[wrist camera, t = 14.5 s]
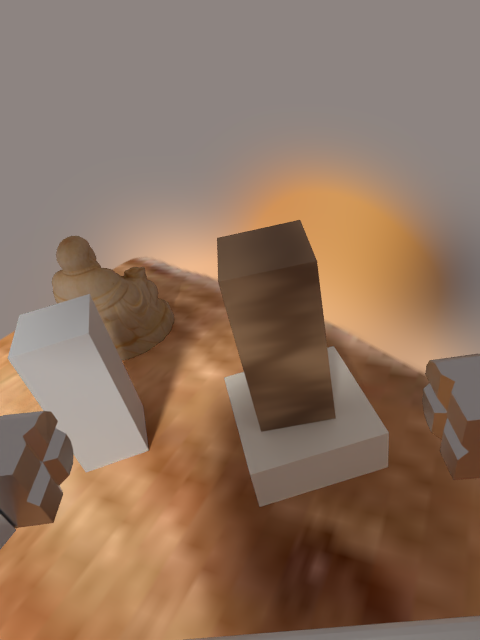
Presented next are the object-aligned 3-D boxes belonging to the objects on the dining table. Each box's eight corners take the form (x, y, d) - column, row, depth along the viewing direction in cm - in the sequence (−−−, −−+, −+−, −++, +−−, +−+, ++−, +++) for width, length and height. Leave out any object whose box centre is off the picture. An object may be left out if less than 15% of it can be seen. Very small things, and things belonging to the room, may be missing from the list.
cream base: (260, 509, 29) (250, 475, 26) (233, 411, 36) (224, 377, 34) (387, 470, 29) (388, 432, 27) (336, 381, 36) (333, 346, 34)
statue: (-22, 303, 36) (19, 221, 42) (66, 379, 48) (89, 306, 53) (110, 291, 34) (135, 205, 40) (170, 374, 45) (183, 298, 51)
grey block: (86, 472, 33) (7, 358, 26) (87, 425, 37) (19, 315, 30) (148, 450, 34) (88, 333, 27) (143, 406, 38) (89, 293, 31)
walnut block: (261, 431, 29) (218, 281, 22) (255, 379, 33) (217, 238, 26) (335, 418, 28) (316, 261, 21) (320, 366, 32) (300, 219, 25)
